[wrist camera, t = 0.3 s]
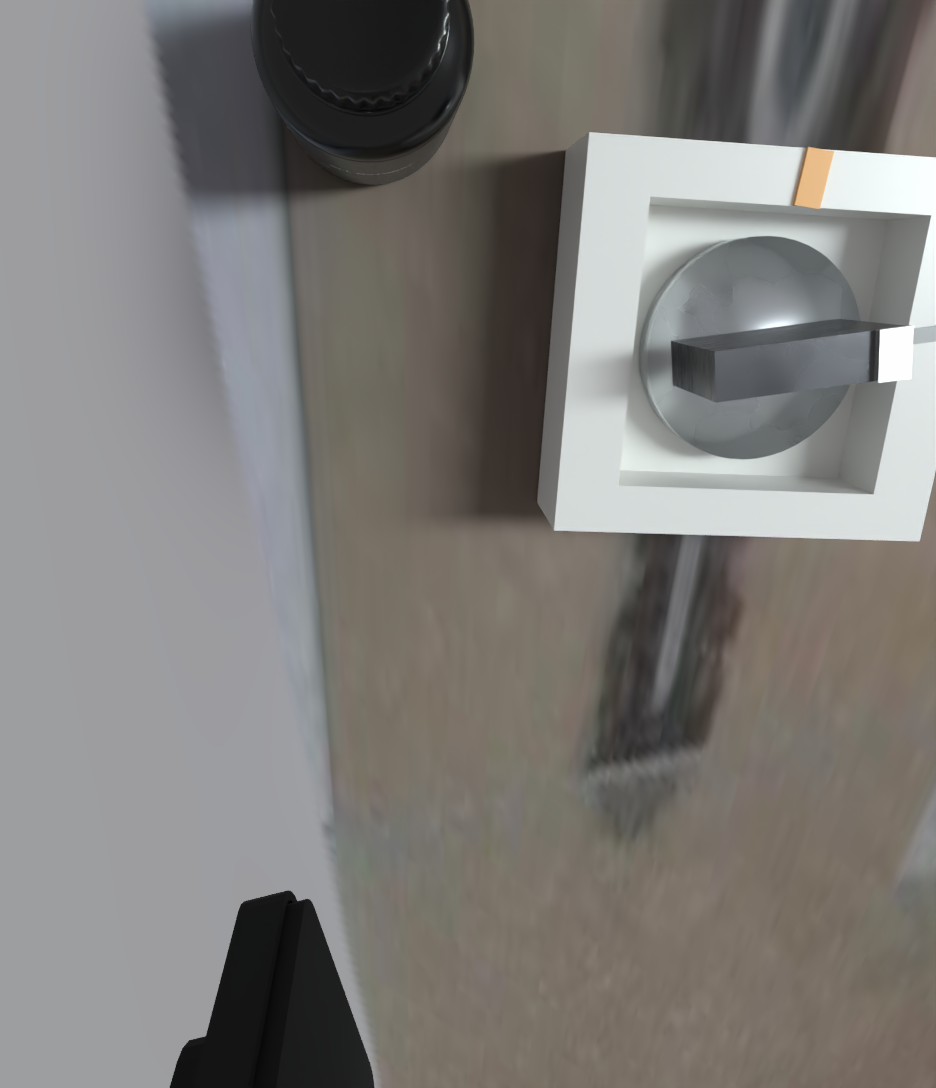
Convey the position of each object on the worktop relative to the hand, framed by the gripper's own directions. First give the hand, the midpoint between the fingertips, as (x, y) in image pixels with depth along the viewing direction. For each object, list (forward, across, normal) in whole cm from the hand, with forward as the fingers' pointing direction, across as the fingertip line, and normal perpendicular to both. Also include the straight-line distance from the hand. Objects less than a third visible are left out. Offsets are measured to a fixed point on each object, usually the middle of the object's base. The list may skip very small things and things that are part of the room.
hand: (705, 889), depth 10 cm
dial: (+28, -12, -2) cm, 30 cm away
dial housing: (+29, -12, -2) cm, 32 cm away
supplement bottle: (+29, +1, -15) cm, 33 cm away
